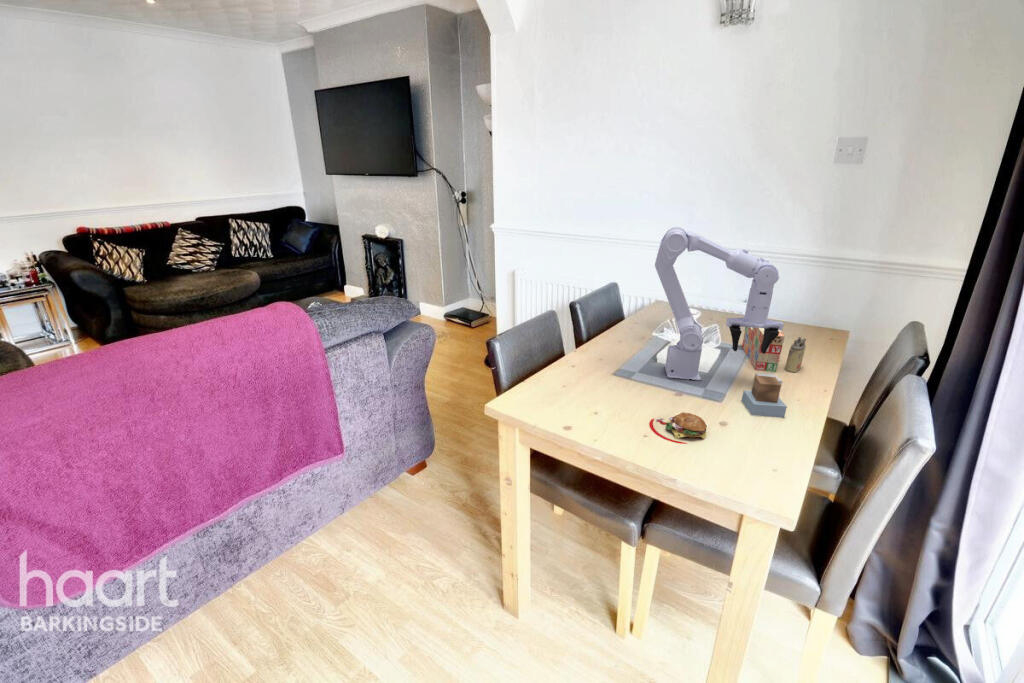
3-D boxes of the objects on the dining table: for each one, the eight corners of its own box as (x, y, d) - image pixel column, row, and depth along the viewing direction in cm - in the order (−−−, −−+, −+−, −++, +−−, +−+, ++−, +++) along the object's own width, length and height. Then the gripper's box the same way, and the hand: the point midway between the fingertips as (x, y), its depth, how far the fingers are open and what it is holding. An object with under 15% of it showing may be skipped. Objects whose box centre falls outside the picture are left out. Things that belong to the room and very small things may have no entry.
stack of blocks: (741, 346, 170) (747, 313, 165) (760, 348, 168) (767, 314, 164) (754, 370, 150) (762, 333, 146) (776, 372, 149) (785, 335, 145)
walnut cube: (756, 400, 124) (760, 383, 122) (751, 392, 129) (755, 375, 127) (777, 402, 123) (781, 385, 121) (771, 394, 128) (775, 377, 126)
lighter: (795, 373, 148) (802, 343, 145) (782, 370, 151) (789, 340, 147) (801, 367, 153) (809, 337, 149) (788, 363, 155) (795, 334, 152)
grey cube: (760, 397, 133) (764, 380, 131) (751, 388, 138) (755, 373, 136) (778, 397, 133) (782, 380, 131) (769, 389, 138) (772, 373, 136)
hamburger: (695, 415, 124) (699, 395, 121) (719, 446, 110) (724, 423, 108) (641, 415, 123) (644, 394, 121) (659, 445, 110) (662, 422, 108)
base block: (751, 416, 124) (753, 404, 122) (741, 401, 131) (743, 390, 130) (783, 418, 123) (786, 406, 121) (771, 403, 130) (774, 392, 129)
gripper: (734, 308, 131) (725, 354, 136) (791, 311, 128) (780, 358, 133) (728, 301, 137) (719, 345, 142) (782, 304, 135) (772, 349, 140)
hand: (748, 351), depth 138 cm, fingers open, 7 cm apart
